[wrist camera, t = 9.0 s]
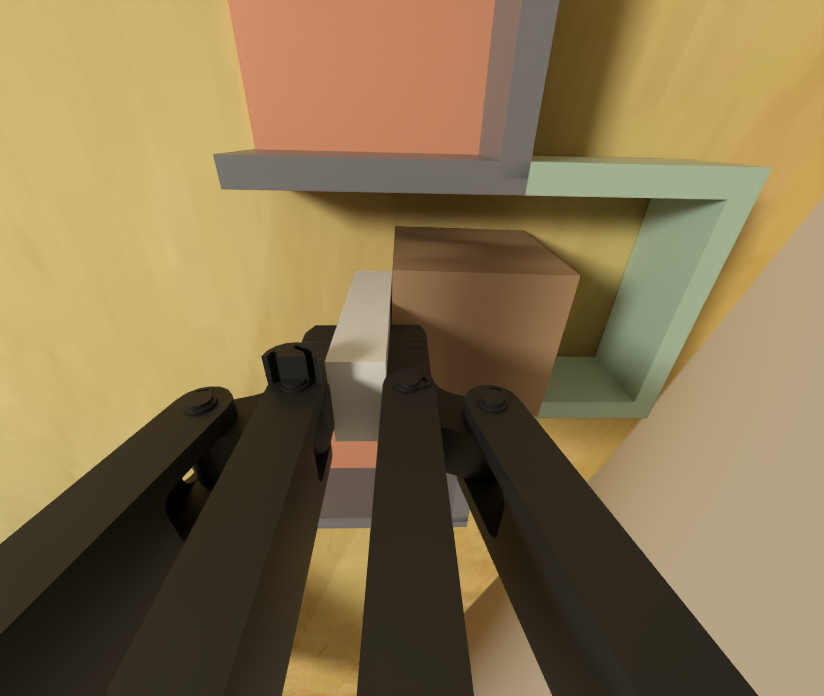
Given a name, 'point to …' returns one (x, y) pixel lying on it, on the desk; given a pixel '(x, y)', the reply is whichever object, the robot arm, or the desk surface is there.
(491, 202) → the desk surface
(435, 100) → the box
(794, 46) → the desk surface
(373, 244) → the desk surface
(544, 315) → the walnut block
